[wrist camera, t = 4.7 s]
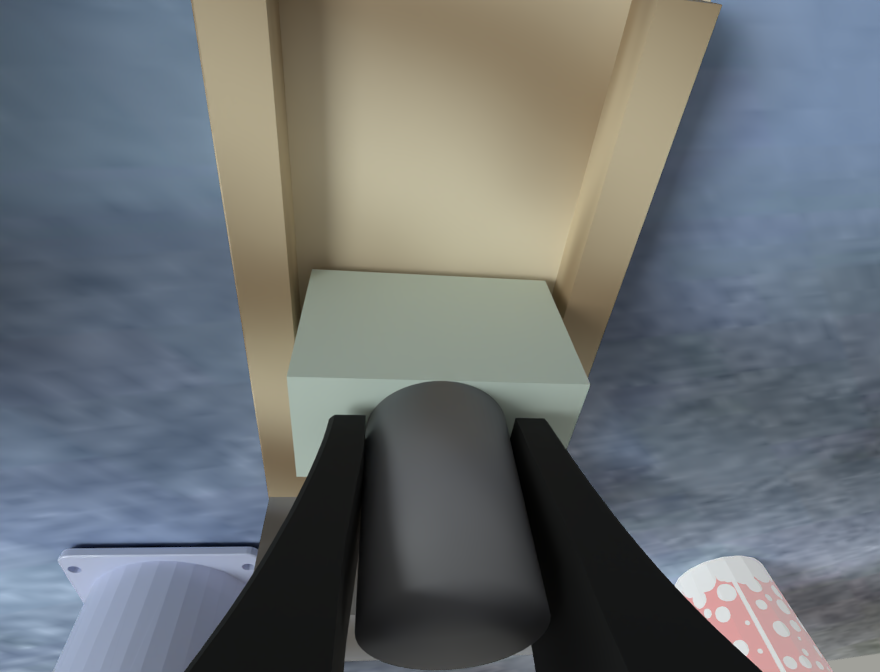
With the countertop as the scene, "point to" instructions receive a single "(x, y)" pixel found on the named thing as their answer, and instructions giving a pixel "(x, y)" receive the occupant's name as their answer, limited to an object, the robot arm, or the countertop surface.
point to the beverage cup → (751, 614)
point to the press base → (435, 158)
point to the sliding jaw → (437, 450)
